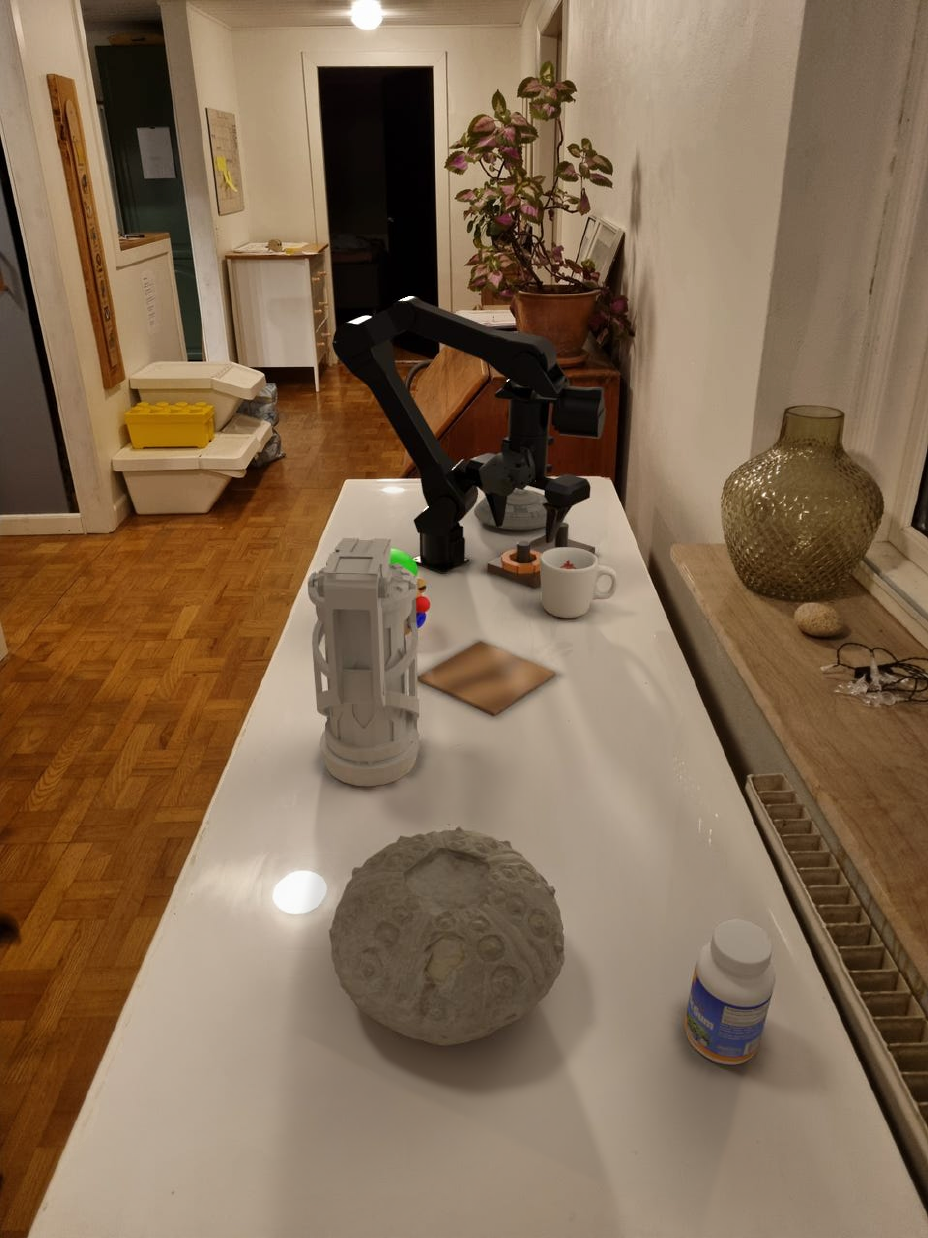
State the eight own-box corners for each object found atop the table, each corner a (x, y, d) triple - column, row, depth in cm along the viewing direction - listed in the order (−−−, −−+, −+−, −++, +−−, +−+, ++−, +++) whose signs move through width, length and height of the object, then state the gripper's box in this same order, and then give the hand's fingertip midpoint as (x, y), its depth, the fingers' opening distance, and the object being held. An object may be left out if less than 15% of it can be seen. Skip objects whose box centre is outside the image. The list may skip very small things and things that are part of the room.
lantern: (329, 729, 102) (315, 518, 91) (423, 731, 102) (420, 520, 90) (308, 803, 91) (289, 573, 79) (414, 806, 90) (409, 576, 79)
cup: (613, 600, 131) (618, 549, 128) (615, 626, 124) (621, 572, 121) (537, 596, 132) (540, 545, 129) (536, 622, 125) (539, 568, 122)
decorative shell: (597, 1041, 67) (608, 941, 62) (356, 1104, 63) (349, 1002, 58) (516, 874, 82) (520, 784, 78) (317, 915, 78) (309, 822, 73)
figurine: (335, 642, 120) (330, 558, 114) (374, 613, 127) (371, 532, 122) (410, 663, 115) (409, 576, 109) (447, 631, 123) (447, 548, 117)
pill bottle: (675, 1006, 70) (691, 912, 65) (744, 1002, 70) (764, 908, 66) (697, 1070, 65) (716, 973, 61) (771, 1065, 66) (795, 968, 61)
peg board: (486, 571, 140) (487, 541, 137) (548, 541, 151) (550, 512, 148) (534, 588, 135) (536, 557, 132) (594, 555, 145) (597, 526, 143)
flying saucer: (546, 542, 150) (548, 510, 148) (461, 529, 155) (461, 498, 152) (570, 511, 163) (572, 482, 160) (490, 500, 167) (491, 471, 165)
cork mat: (417, 679, 112) (417, 676, 112) (480, 643, 120) (480, 640, 120) (494, 715, 105) (494, 712, 105) (555, 675, 113) (555, 672, 113)
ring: (492, 565, 138) (493, 558, 138) (518, 552, 143) (519, 545, 142) (527, 577, 135) (527, 570, 134) (552, 564, 139) (552, 556, 138)
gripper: (440, 429, 129) (440, 533, 136) (549, 457, 118) (542, 568, 125) (490, 414, 136) (487, 513, 144) (596, 439, 126) (587, 544, 133)
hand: (523, 534), depth 136 cm, fingers open, 9 cm apart
